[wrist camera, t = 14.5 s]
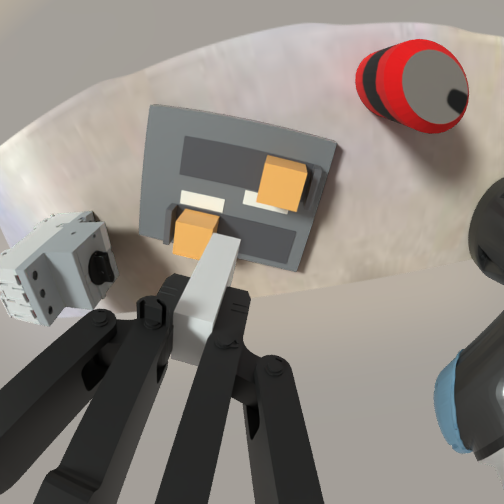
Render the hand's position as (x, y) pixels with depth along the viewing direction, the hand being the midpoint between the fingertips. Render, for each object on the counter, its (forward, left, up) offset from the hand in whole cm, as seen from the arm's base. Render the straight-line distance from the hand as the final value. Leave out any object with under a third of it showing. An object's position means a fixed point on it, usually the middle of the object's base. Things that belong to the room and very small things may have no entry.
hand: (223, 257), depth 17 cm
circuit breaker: (+21, +14, -19) cm, 32 cm away
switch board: (+3, +3, -19) cm, 20 cm away
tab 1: (+5, +8, -17) cm, 20 cm away
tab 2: (-3, 0, -17) cm, 18 cm away
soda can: (-11, -13, -19) cm, 26 cm away
